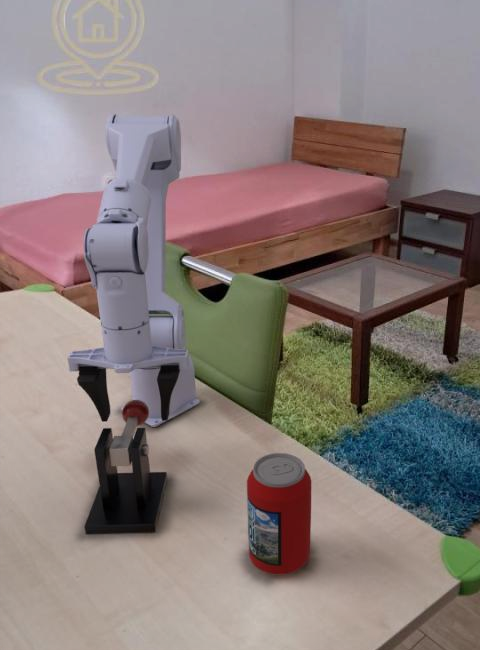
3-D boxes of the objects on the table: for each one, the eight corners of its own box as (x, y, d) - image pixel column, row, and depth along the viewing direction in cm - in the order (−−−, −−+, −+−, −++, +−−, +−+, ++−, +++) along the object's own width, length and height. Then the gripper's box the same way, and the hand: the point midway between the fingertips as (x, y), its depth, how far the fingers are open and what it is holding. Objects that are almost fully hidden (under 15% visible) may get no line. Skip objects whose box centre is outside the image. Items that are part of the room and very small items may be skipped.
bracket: (105, 480, 82) (96, 415, 78) (167, 479, 82) (161, 414, 78) (85, 534, 73) (73, 464, 69) (155, 532, 73) (148, 462, 69)
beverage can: (240, 545, 72) (237, 457, 67) (295, 529, 74) (296, 443, 69) (261, 588, 66) (259, 495, 61) (320, 569, 68) (322, 478, 63)
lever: (126, 417, 84) (123, 395, 83) (152, 416, 84) (149, 394, 83) (106, 470, 74) (103, 445, 72) (135, 469, 74) (133, 445, 72)
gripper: (54, 335, 73) (70, 435, 78) (181, 333, 73) (188, 432, 79) (71, 312, 79) (85, 405, 85) (188, 310, 80) (194, 404, 85)
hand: (136, 417), depth 82 cm, fingers open, 7 cm apart
